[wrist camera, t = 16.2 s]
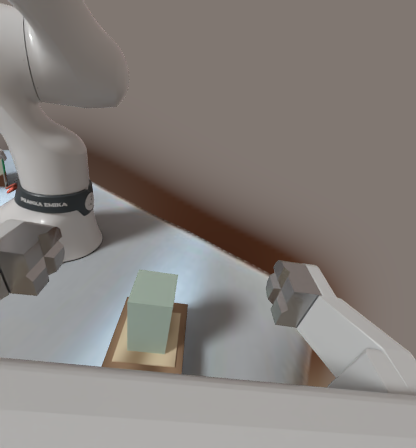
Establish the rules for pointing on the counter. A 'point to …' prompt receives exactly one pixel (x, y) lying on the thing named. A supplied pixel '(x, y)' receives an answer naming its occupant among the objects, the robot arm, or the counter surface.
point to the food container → (2, 171)
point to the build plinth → (144, 360)
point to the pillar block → (150, 311)
